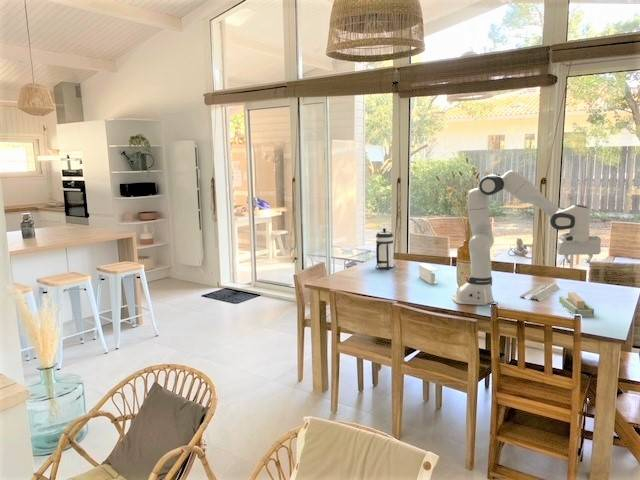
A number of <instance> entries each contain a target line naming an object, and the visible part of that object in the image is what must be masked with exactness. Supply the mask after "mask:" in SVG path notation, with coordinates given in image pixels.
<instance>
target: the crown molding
mask: <svg viewBox="0 0 640 480" xmlns="http://www.w3.org/2000/svg"><path fill="white" fill-rule="evenodd" d="M545 286H546V285H545V284H544V283H540V284H538V285H537V286H536V287H534V288H531V289H530V290H529V291H526V292H525V293H523V294H522V295H520V296H519V298H523V297H525V296H527V295H529V294H531V293H533V292H535V291H537V290H539V289H541V288H543V287H545ZM559 289H560V290H561V287H559V286H558V285H557V284H556V283H555V282H554V283H551V284H550V285H548V286H547V287H546V288H545V289H543V290H541V291H539V292H538V293H536V294H534V295H533V296H532V297H530V298H532V299H531V300H536V299H538V300H539V299H541V298H543V297H545V296H546V295H548V294H551V293H553V292H555V291H556V292H558V291H559ZM557 290H558V291H557ZM556 292H555V293H556ZM553 294H554V293H553ZM538 300H537V301H538Z"/></svg>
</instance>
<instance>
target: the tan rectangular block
mask: <svg viewBox="0 0 640 480" xmlns="http://www.w3.org/2000/svg"><path fill="white" fill-rule="evenodd" d="M567 298H568V301H569V302H570V303H571V304H573V305H574V306H575V307H576V308H578V310H584V304H585V303H586V301H585V300H584V299H583V298H582V297H581V296H579V294H577V293H576V292H568V293H567Z"/></svg>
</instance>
